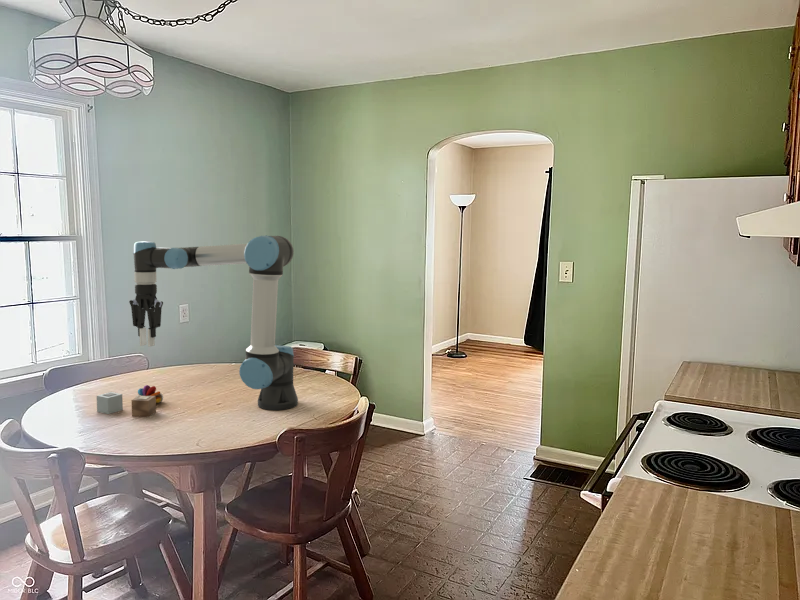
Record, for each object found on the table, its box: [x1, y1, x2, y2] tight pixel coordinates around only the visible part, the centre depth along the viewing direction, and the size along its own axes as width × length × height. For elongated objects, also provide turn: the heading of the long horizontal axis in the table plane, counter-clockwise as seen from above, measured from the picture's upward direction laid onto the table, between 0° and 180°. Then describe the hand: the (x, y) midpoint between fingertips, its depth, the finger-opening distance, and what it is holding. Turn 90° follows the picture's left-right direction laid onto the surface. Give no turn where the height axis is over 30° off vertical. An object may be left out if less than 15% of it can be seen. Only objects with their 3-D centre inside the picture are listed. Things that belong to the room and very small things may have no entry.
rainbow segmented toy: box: [134, 384, 164, 404], centre depth 225 cm, size 8×10×7 cm
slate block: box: [96, 391, 124, 415], centre depth 215 cm, size 6×6×6 cm
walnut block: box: [131, 395, 157, 418], centre depth 212 cm, size 6×6×6 cm
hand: (147, 345), depth 222 cm, fingers open, 3 cm apart
